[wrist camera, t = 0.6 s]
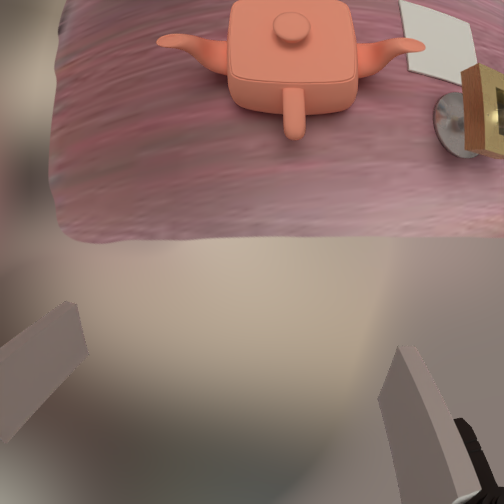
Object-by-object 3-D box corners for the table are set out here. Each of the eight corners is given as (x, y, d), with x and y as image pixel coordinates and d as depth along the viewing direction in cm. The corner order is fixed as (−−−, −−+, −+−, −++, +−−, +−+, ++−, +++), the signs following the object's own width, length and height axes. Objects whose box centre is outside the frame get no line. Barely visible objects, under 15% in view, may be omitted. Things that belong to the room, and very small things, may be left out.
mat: (398, 1, 24) (399, -1, 24) (467, 24, 23) (469, 23, 22) (407, 70, 28) (409, 69, 27) (478, 92, 26) (480, 91, 26)
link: (460, 71, 20) (478, 62, 16) (514, 95, 19) (533, 90, 15) (464, 150, 23) (485, 149, 19) (517, 166, 22) (538, 168, 18)
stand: (431, 86, 28) (494, 55, 14) (482, 103, 27) (549, 87, 12) (433, 151, 30) (503, 149, 16) (483, 163, 29) (555, 170, 15)
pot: (296, -8, 27) (294, -63, 15) (392, 77, 29) (431, 44, 17) (192, 73, 32) (149, 38, 20) (286, 166, 34) (282, 164, 22)
